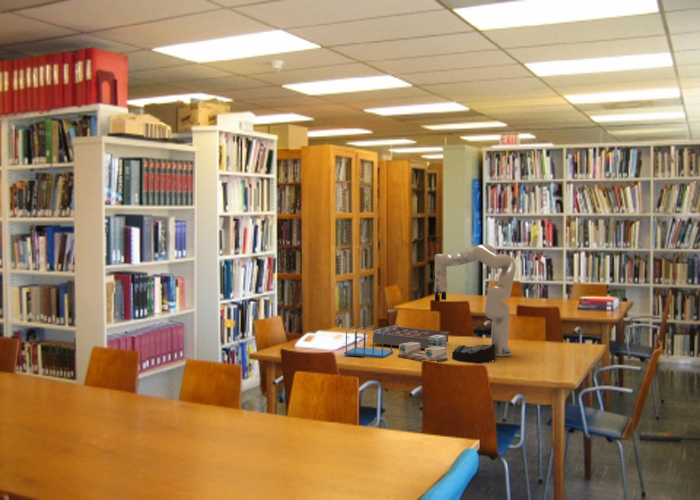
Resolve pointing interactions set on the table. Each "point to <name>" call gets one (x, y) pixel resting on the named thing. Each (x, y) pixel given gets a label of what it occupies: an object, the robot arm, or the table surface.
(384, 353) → the file sorter
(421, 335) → the organizer tray
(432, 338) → the light bulb box
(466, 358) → the topographical model
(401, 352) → the rail board
